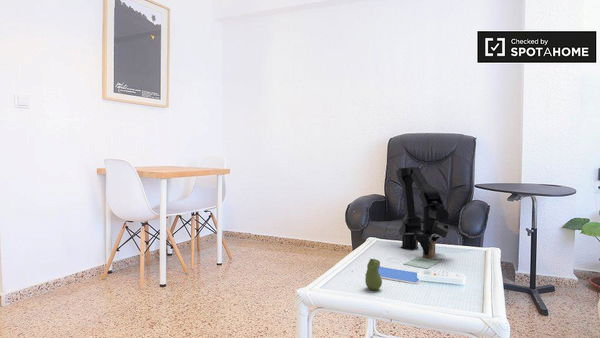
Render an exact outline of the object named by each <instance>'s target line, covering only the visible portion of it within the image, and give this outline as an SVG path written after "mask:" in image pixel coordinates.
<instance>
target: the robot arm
mask: <svg viewBox="0 0 600 338" xmlns="http://www.w3.org/2000/svg"><path fill="white" fill-rule="evenodd" d="M395 172H396V178H397V181H398V183H399V184H400V185H401V187H402V188H401V189H402V196H403V197H402V198H403V205H404V206H403V207H404V217H403V219H402V222H401V223H402V225H401V226H400V228H399V230H398V233H399V235H401V236H402V237H401V238H402V239H401V246H400V248H401V249H406V250H407V249H408V250H412V251H413V250H415V249H418V248H419V245H420V246H421V249H422V252H423V251H424V253H425V255H428V252H429V246H430V243H431V242H432V241H435V245H436V243H437V241H438V240H440V239H441V237H442V238H444V239H446V238H448V237H449V235H450V233H451V228H450V225H448V224H444V225H441V224H439V223H444V222H447V221H448V219H449V212H448V210H447V209H445V205H444V201H443V199H442V197H441V194H440V192H439V190H438V189H437V188H436V187H435V186H432V185H430V183H429V182H428V181H427V179H426V177H425V175H424V174H423V173H422V171H421V168H420V167H419V166H408V167H406V166H405V167H403V166H402V167H401V166H400V167H398V169H397V170H396V171H395ZM413 184H415V185H416V188H418V190H419V193H418V194H419V195H418V196H419V198H420V200H421V202H422V204H421V205H420V207H421V208H422V220H421V217H420V216H418V215H417V213H416V207H415V206H416V204H415V197H414V196H415V195H414V187H413Z"/></svg>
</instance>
